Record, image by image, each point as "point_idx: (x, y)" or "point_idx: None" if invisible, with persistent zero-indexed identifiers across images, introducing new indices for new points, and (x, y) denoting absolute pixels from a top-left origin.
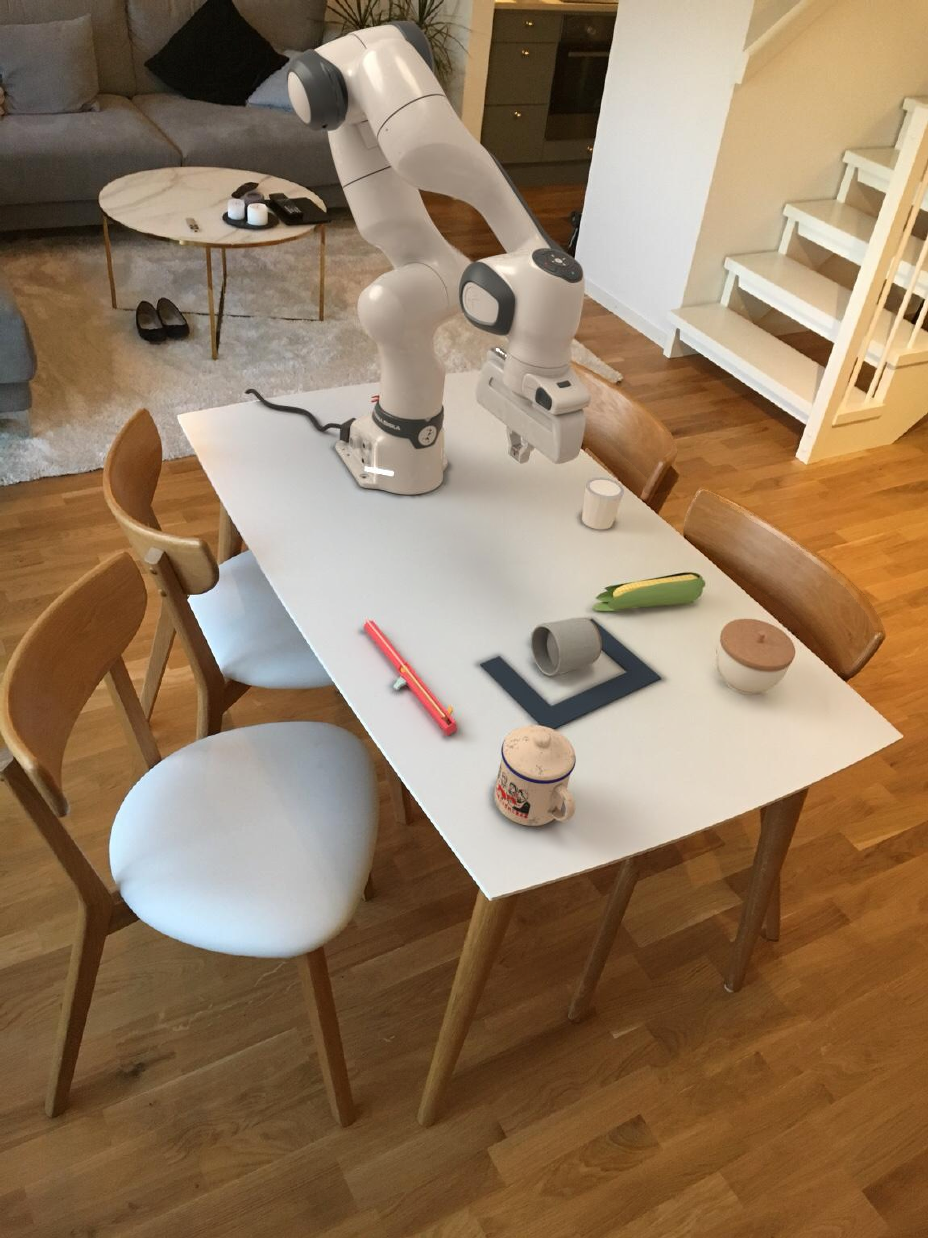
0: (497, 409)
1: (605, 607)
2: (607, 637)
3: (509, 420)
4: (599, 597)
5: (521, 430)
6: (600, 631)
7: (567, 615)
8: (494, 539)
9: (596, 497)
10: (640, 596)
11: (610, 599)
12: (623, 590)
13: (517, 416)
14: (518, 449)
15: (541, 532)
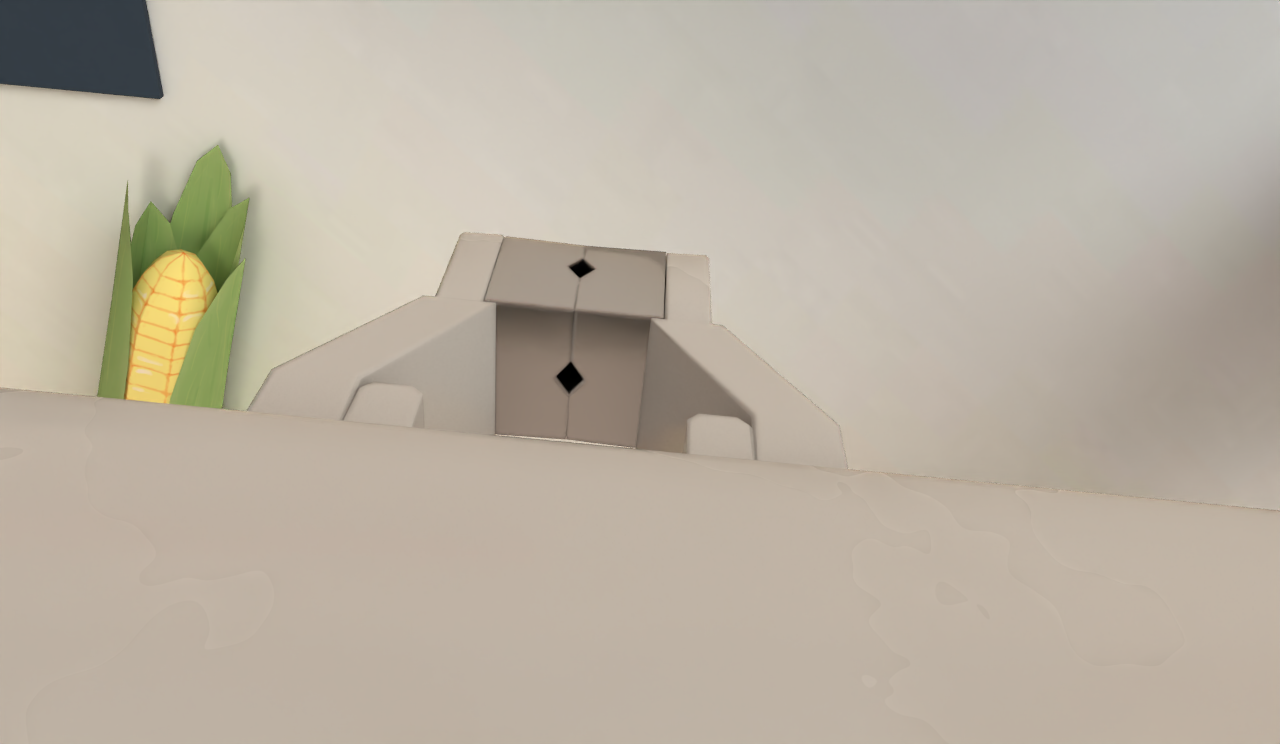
0: (1202, 626)
1: (205, 201)
2: (12, 56)
3: (737, 555)
4: (245, 216)
5: (290, 501)
6: (63, 62)
7: (234, 24)
8: (868, 151)
9: None
10: (112, 329)
11: (224, 248)
12: (151, 295)
13: (474, 731)
14: (544, 335)
15: (768, 349)
